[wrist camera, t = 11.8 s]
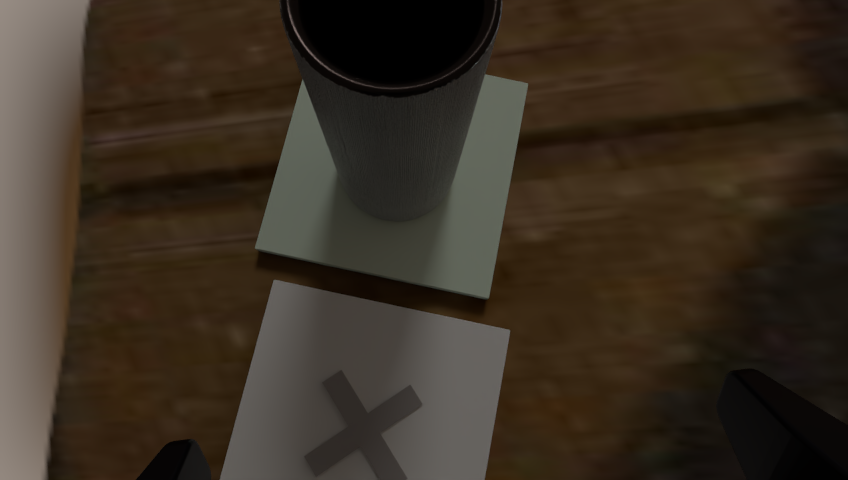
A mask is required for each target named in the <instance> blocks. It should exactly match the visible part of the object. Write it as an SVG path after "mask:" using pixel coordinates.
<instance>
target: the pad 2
mask: <svg viewBox="0 0 848 480" xmlns="http://www.w3.org/2000/svg"><path fill="white" fill-rule="evenodd" d="M509 335H510V330H507V329H503V328H498V327H493V326H488V325H484V324H479V323H474V322H470V321H465V320H460V319H456V318H451V317H446V316H442V315H437V314H432V313H428V312H423V311H418V310H414V309H409V308H404V307H400V306H395V305H390V304H386V303H381V302H376V301H371V300H367V299H362V298H357V297H353V296H348V295H343V294H339V293H334V292H329V291H325V290H320V289H315V288H311V287H306V286H301V285H297V284H292V283H287V282H283V281H278V280H274V281H273V285H272V289H271V292H270V296H269V300H268V303H267V307H266V311H265V314H264V318H263V322H262V325H261V329H260V333H259V337H258V340H257V344H256V348H255V351H254V355H253V359H252V362H251V366H250V370H249V374H248V377H247V381H246V385H245V388H244V392H243V396H242V399H241V403H240V407H239V410H238V414H237V418H236V422H235V425H234V429H233V433H232V436H231V440H230V444H229V447H228V451H227V455H226V458H225V462H224V466H223V470H222V473H221V477H220V480H485V474H486V468H487V462H488V456H489V451H490V445H491V439H492V433H493V427H494V422H495V416H496V410H497V404H498V399H499V393H500V387H501V381H502V375H503V370H504V364H505V358H506V352H507V346H508V341H509Z"/></svg>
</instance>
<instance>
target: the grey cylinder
mask: <svg viewBox="0 0 848 480" xmlns="http://www.w3.org/2000/svg"><path fill="white" fill-rule="evenodd" d="M280 12H281V18H282V22H283V26H284V29H285V32H286V35H287V38H288V40H289V43H290V46H291V49H292V51H293V54H294V57H295V60H296V62H297V65H298V68H299V70H300V73H301V76H302V78H303V81H304V84H305V86H306V89H307V92H308V95H309V97H310V100H311V103H312V105H313V108H314V111H315V113H316V116H317V119H318V122H319V124H320V127H321V130H322V132H323V135H324V138H325V140H326V143H327V146H328V148H329V151H330V154H331V157H332V159H333V162H334V165H335V167H336V170H337V173H338V175H339V178H340V181H341V183H342V185H343V187H344V189H345V191H346V193H347V194H348V196H349V197H350V199H351V200H352V201H353V202H354V203H355V204H356V205H357V206H358V207H359V208H360V209H362V210H363V211H364V212H366V213H368V214H369V215H372V216H374V217H376V218H379V219H382V220H387V221H407V220H412V219H415V218H418V217H421V216H423V215H425V214H427V213H429V212H430V211H432V210H433V209H434V208H435V207H437V206H438V205H439V204H440V203H441V202H442V200H443V199H444V198H445V196H446V195H447V193H448V191H449V189H450V187H451V185H452V183H453V181H454V178H455V174H456V171H457V168H458V164H459V161H460V157H461V154H462V151H463V147H464V144H465V140H466V137H467V134H468V130H469V127H470V124H471V120H472V117H473V113H474V110H475V107H476V103H477V100H478V96H479V93H480V90H481V86H482V83H483V79H484V76H485V73H486V69H487V66H488V63H489V59H490V56H491V52H492V49H493V46H494V42H495V39H496V35H497V32H498V28H499V24H500V19H501V13H502V0H280Z"/></svg>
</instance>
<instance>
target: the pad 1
mask: <svg viewBox="0 0 848 480" xmlns="http://www.w3.org/2000/svg"><path fill="white" fill-rule="evenodd" d="M527 87H528V83H523V82H518V81H514V80H509V79H504V78H499V77H495V76H490V75H485V76H484V79H483V83H482V86H481V90H480V93H479V96H478V100H477V103H476V107H475V110H474V113H473V117H472V120H471V124H470V127H469V130H468V134H467V137H466V140H465V144H464V147H463V151H462V154H461V157H460V161H459V164H458V168H457V171H456V174H455V178H454V181H453V183H452V185H451V187H450V189H449V191H448V193H447V195H446V196H445V198H444V199H443V200H442V202H441V203H440V204H439V205H438V206H437V207H435V208H434V209H433V210H432V211H430V212H429V213H427V214H425V215H423V216H421V217H418V218H415V219H412V220H407V221H387V220H382V219H379V218H376V217H374V216H372V215H369V214H368V213H366V212H364V211H363V210H362V209H360V208H359V207H358V206H357V205H356V204H355V203H354V202H353V201H352V200H351V199H350V197H349V196H348V194H347V193H346V191H345V189H344V187H343V185H342V183H341V181H340V178H339V175H338V173H337V170H336V167H335V165H334V162H333V159H332V157H331V154H330V151H329V148H328V146H327V143H326V140H325V138H324V135H323V132H322V130H321V127H320V124H319V122H318V119H317V116H316V113H315V111H314V108H313V105H312V103H311V100H310V97H309V95H308V92H307V89H306V86H305V84H304V81H303V80H302V83H301V87H300V90H299V94H298V98H297V101H296V105H295V108H294V112H293V115H292V119H291V122H290V126H289V129H288V133H287V137H286V140H285V144H284V147H283V151H282V154H281V158H280V161H279V165H278V168H277V172H276V176H275V179H274V183H273V186H272V190H271V193H270V197H269V200H268V204H267V207H266V211H265V215H264V218H263V222H262V225H261V229H260V232H259V236H258V239H257V243H256V246H255V249H257V250H258V251H261V252H265V253H270V254H275V255H279V256H284V257H289V258H293V259H298V260H303V261H307V262H312V263H317V264H321V265H326V266H331V267H336V268H340V269H345V270H350V271H354V272H359V273H364V274H368V275H373V276H378V277H382V278H387V279H392V280H396V281H401V282H406V283H411V284H415V285H420V286H425V287H429V288H434V289H439V290H443V291H448V292H453V293H457V294H462V295H467V296H471V297H476V298H481V299H486V300H487V299H488V298H489V294H490V289H491V284H492V278H493V273H494V267H495V262H496V256H497V251H498V245H499V240H500V235H501V229H502V224H503V218H504V213H505V207H506V202H507V196H508V191H509V185H510V180H511V175H512V169H513V164H514V158H515V153H516V147H517V142H518V136H519V131H520V126H521V120H522V115H523V109H524V104H525V98H526V93H527Z"/></svg>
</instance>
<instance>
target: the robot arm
mask: <svg viewBox="0 0 848 480" xmlns="http://www.w3.org/2000/svg"><path fill="white" fill-rule="evenodd" d="M716 407H717V413H718V416H719V418H720V421H721V423H722V425H723V427H724V430H725V432H726V434H727V436H728V438H729V441H730V443H731V445H732V447H733V450H734V452H735V454H736V456H737V459H738V461H739V463H740V465H741V468H742V470H743V472H744V474H745V477H746V479H747V480H848V425H846V424H845V423H843V422H841V421H840V420H838V419H836V418H835V417H833V416H831V415H830V414H828V413H827V412H825V411H823V410H822V409H820V408H818V407H817V406H815V405H814V404H812V403H810V402H809V401H807V400H805V399H804V398H802V397H801V396H799V395H797V394H796V393H794V392H792V391H791V390H789V389H787V388H786V387H784V386H783V385H781V384H779V383H778V382H776V381H774V380H773V379H771V378H770V377H768V376H766V375H765V374H763V373H761V372H760V371H758V370H755V369H741V370H733V371H730V372H729V373H728V374H727V375H726V377H725V380H724V382H723V385H722V388H721V391H720V393H719V396H718V399H717V405H716ZM136 480H211V471H210V468H209V465H208V463H207V461H206V459H205V457H204V455H203V453H202V451H201V449H200V447H199V445H198V443H197V442H196V441H195V440H193V439H186V440H178V441H172V442H169V443H168V444H166V445H165V446H164V447H163V448H162V449H161V451H160V452H159V453H158V454H157V455H156V457H155V458H154V459H153V460H152V461H151V462H150V464H149V465H148V466H147V467H146V468H145V470H144V471H143V472H142V473H141V474H140V476H139V477H138V478H137V479H136Z"/></svg>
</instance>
